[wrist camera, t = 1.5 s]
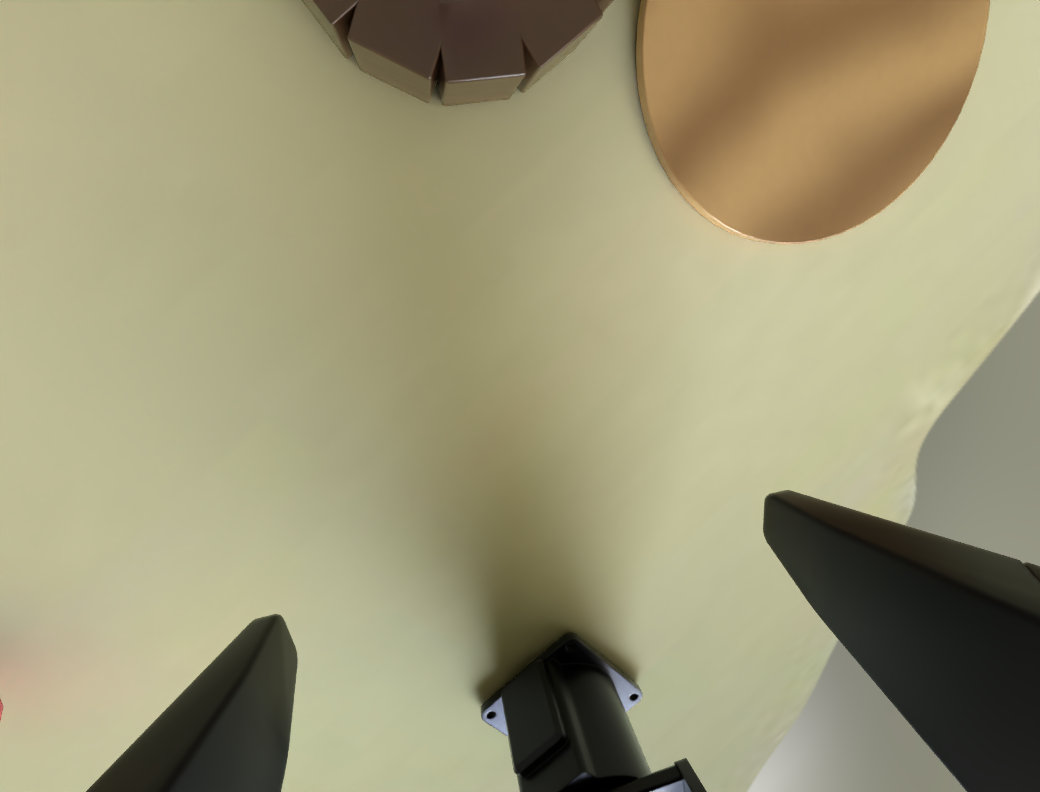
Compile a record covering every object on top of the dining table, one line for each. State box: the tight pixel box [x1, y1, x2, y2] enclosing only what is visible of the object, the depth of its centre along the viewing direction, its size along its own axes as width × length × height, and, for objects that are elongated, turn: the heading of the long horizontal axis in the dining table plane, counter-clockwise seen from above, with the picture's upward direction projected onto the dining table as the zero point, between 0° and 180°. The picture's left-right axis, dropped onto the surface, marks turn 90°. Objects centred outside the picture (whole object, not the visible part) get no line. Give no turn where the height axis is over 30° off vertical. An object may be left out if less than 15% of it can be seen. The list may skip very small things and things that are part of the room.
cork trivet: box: [636, 0, 990, 244], centre depth 18 cm, size 14×14×1 cm
